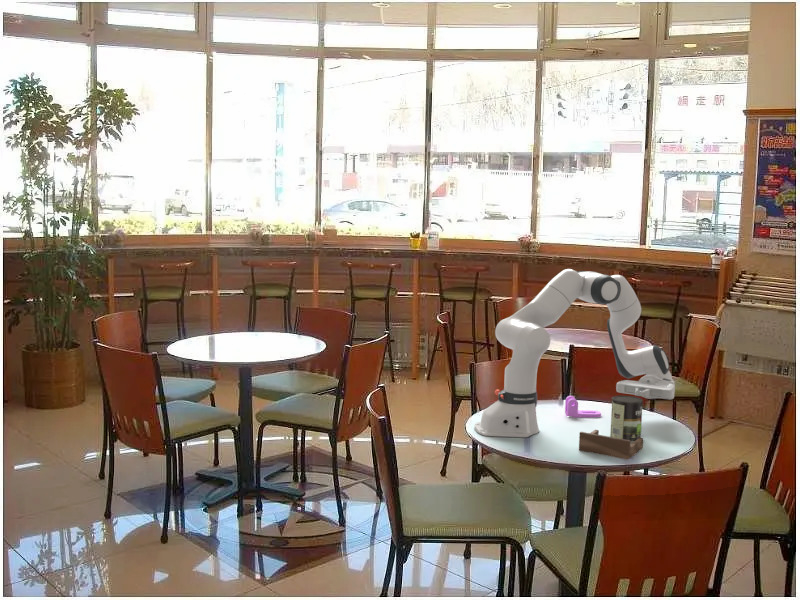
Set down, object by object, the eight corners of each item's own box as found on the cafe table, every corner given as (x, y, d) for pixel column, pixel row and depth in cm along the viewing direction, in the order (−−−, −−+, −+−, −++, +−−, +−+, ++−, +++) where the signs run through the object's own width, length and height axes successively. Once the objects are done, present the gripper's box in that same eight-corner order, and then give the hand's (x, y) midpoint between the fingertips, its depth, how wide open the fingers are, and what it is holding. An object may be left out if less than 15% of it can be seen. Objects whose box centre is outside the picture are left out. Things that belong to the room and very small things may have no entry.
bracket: (567, 417, 311) (568, 399, 310) (564, 413, 317) (565, 395, 316) (602, 418, 311) (603, 399, 310) (599, 414, 317) (599, 396, 316)
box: (594, 439, 283) (595, 422, 282) (642, 448, 274) (643, 430, 273) (578, 450, 270) (579, 432, 270) (628, 459, 261) (629, 441, 261)
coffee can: (643, 437, 286) (646, 397, 284) (636, 445, 277) (639, 404, 275) (614, 433, 291) (616, 393, 289) (606, 440, 282) (608, 399, 280)
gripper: (623, 374, 309) (610, 381, 298) (679, 381, 298) (668, 389, 287) (622, 390, 310) (610, 398, 299) (678, 398, 299) (667, 406, 287)
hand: (639, 394), depth 293 cm, fingers closed
